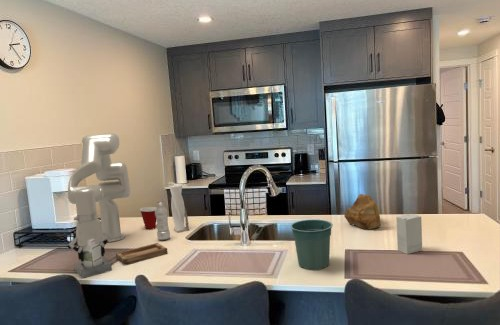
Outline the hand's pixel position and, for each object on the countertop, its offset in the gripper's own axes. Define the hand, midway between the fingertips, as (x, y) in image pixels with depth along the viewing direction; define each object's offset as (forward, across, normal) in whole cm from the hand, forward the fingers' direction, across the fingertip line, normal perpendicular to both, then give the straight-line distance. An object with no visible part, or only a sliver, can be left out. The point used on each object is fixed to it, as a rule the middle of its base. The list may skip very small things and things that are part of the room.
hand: (92, 258), depth 162 cm
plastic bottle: (+6, +40, +19) cm, 45 cm away
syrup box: (+6, 0, 0) cm, 6 cm away
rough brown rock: (+6, +126, -41) cm, 132 cm away
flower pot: (+6, +69, -62) cm, 93 cm away
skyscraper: (+6, +54, +29) cm, 62 cm away
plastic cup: (+6, +44, +48) cm, 65 cm away
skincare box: (+6, +107, -80) cm, 134 cm away
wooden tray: (+5, +22, +2) cm, 23 cm away
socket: (+5, 0, 0) cm, 5 cm away
